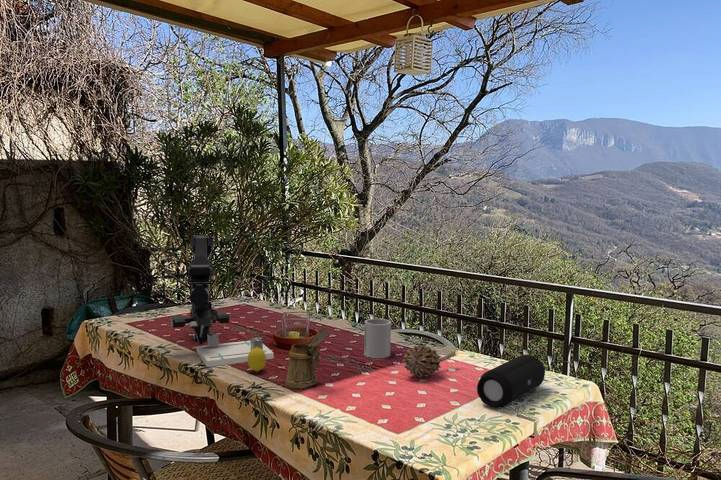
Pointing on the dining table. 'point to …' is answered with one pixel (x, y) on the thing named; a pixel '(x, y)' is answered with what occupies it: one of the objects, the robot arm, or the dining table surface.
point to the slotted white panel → (229, 353)
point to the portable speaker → (510, 381)
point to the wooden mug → (304, 362)
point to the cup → (377, 338)
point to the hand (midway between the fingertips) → (200, 344)
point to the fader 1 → (213, 340)
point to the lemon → (256, 359)
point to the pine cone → (424, 360)
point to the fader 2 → (256, 343)
